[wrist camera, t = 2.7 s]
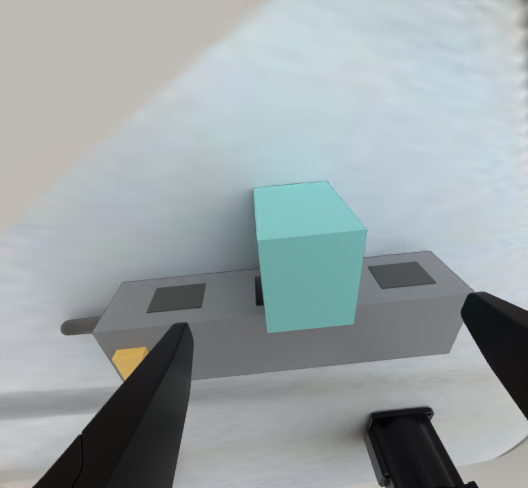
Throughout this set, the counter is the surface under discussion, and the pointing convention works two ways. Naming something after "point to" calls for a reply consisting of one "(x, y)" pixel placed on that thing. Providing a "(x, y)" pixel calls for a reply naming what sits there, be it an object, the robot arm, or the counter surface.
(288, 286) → the block
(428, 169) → the counter surface
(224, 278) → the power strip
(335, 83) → the counter surface
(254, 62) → the counter surface
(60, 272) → the counter surface
